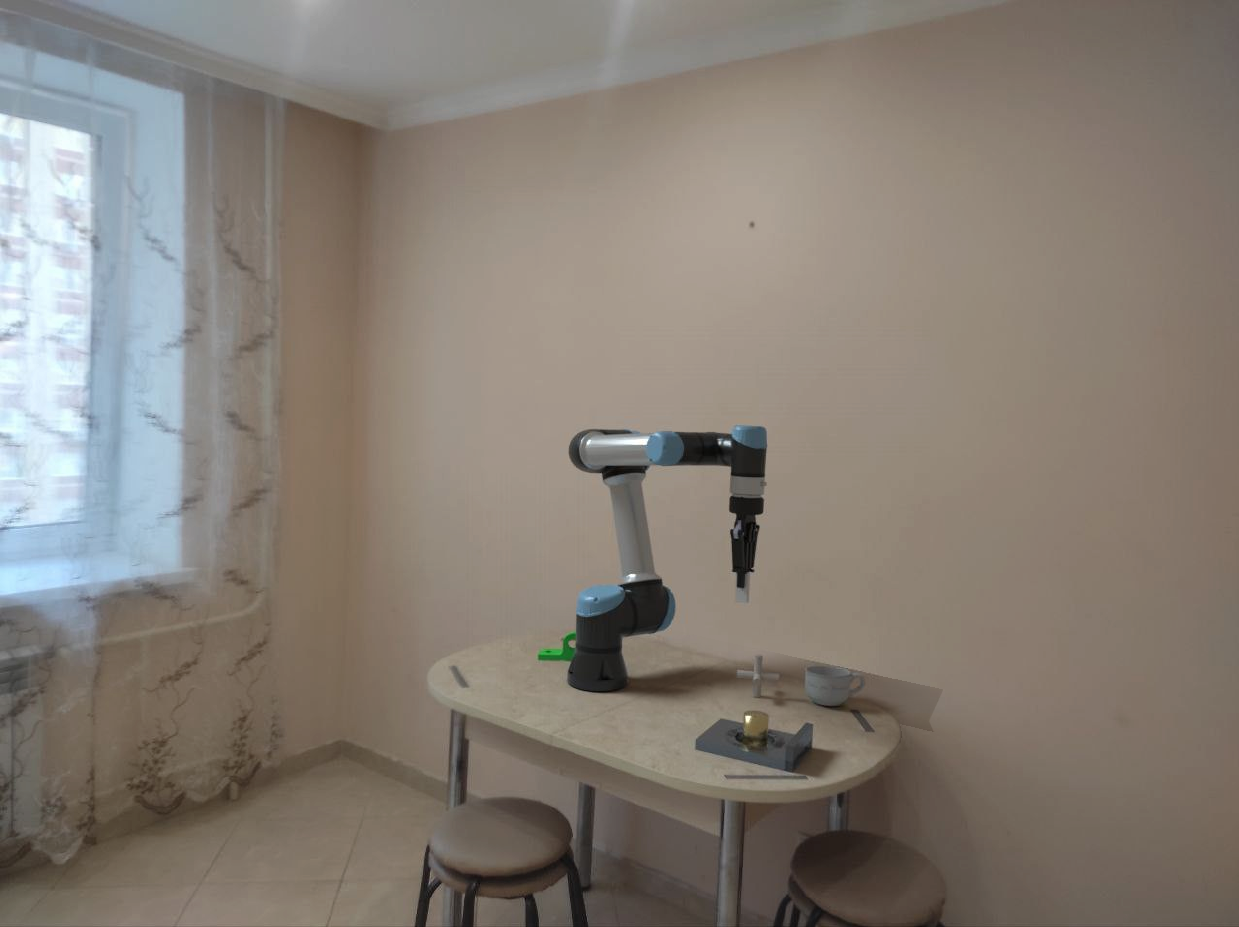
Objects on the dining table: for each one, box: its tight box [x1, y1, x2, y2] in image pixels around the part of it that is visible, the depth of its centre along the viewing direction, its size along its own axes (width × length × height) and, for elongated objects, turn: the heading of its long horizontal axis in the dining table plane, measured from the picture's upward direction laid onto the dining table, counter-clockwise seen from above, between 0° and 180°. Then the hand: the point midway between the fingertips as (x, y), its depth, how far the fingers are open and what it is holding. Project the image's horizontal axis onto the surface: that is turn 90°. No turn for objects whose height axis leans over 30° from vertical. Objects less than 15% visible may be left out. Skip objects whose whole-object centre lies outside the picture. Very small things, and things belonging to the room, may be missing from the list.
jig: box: [694, 717, 814, 773], centre depth 169 cm, size 20×14×5 cm
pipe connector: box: [736, 654, 780, 699], centre depth 200 cm, size 10×10×10 cm
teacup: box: [804, 664, 866, 707], centre depth 198 cm, size 14×11×8 cm
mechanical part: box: [537, 631, 576, 662], centre depth 225 cm, size 12×6×8 cm, turn 91°
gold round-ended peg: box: [741, 709, 770, 747], centre depth 168 cm, size 5×5×7 cm
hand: (741, 601), depth 184 cm, fingers closed
